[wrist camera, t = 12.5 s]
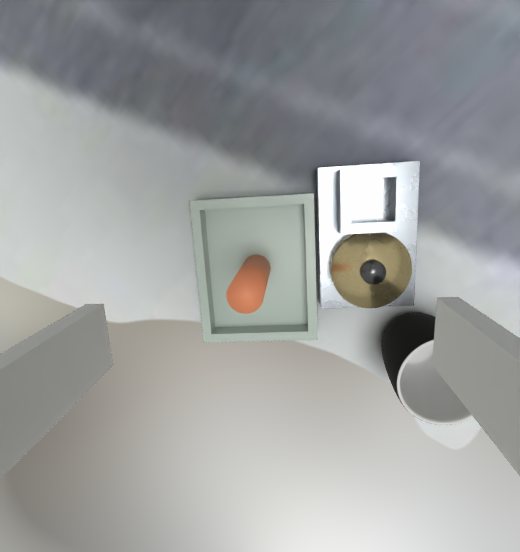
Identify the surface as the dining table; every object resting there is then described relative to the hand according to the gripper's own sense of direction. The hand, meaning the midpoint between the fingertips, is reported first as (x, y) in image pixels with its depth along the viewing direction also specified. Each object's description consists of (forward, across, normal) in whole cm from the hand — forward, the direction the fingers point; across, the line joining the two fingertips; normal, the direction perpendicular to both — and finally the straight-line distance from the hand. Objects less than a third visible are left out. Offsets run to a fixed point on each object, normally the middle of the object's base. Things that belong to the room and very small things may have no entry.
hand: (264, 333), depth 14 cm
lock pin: (+27, -3, -4) cm, 27 cm away
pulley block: (+28, +9, 0) cm, 29 cm away
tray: (+28, -3, -4) cm, 28 cm away
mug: (+28, +16, -13) cm, 35 cm away
